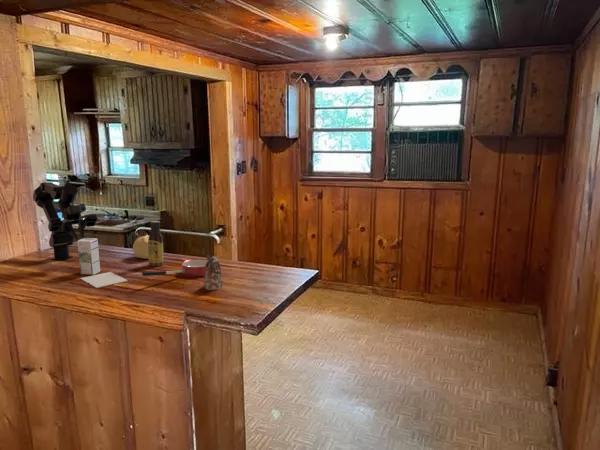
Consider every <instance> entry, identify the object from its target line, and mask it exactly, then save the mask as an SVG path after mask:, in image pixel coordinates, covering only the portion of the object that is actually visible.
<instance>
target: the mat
mask: <svg viewBox="0 0 600 450" xmlns="http://www.w3.org/2000/svg"><path fill="white" fill-rule="evenodd" d="M81 279H82V281H83V282H85V283H87V284H88V283H89V284H88V285H90V286H92V287H94V288H96V289H99V288H103V287H107V286H111V285H112V284H113V285H116V284H120V283H126V282H129V280H128V279H126V278H123V277H122V276H120V275H118V274H116V273H113V272H112V271H108V272H104V273H97V274H94V275H87V276H85V277H80V280H81Z"/></svg>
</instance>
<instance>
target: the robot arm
mask: <svg viewBox="0 0 600 450" xmlns="http://www.w3.org/2000/svg"><path fill="white" fill-rule="evenodd" d="M78 192H79V189H78V188H77V186H75V185H72V184H71V182H66V183H64V185H57V184H55V183H53V182H52V181H49V182H48V181H47V182H45V181H44V182H41V183H40V184H39V186H38V187H36V188H35V189H34V191H33V193H32V200H33V202H35V204H36V206H37V207H39V208H41V209H42V210H43V212H44V215H45V217H46V219H47V221H48V225H47V228H48V231H49V232H51V234H50V236H49V241H48V243H49V247H50V248H53V256H54V257H52V258H51V260H52V261H53V260H54V261H66V260H70V259H71V258H73V257H74V255H70V246H73V243H74V239H75V240H77V239H78V235H77V234H76V231H75V229H74V227H73V226H75V225H78V227H77V230H78V232H79V235H80V236H81V239H83V238H85V229H86V227H87V228H89V227H95V226H96V224H97V222H98V219H99V218H98V215H97V214H95V213H94V214H86V215H85V217H83V218H81V216H82V213H84V212H86V210H87V206H86V204H85V203H79V204H74V202H75V201H76V198H77V195H78ZM55 200H58V201H57V204H58V205H57V208H58V209H59V210H60V212H61V218H60V216H59V214H58V212H57V210H56V207H55V205H54V202H55Z"/></svg>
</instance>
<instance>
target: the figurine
mask: <svg viewBox="0 0 600 450" xmlns="http://www.w3.org/2000/svg"><path fill="white" fill-rule="evenodd" d="M206 259H208V261H207V262H206V268H207V270H206V272H205V276H204V277H203V278H204V280H203V287H204V289H205V290H207V291H214V290H218V291H219V290H221V289H223V287H224V280H223V276H222V269H223V268H222V267H221V265H220V262H219V261H220V260H219V259H218V257H216V256H210V255H207V256H206ZM209 264H210V266H209Z"/></svg>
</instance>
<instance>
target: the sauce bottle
mask: <svg viewBox="0 0 600 450" xmlns="http://www.w3.org/2000/svg"><path fill="white" fill-rule="evenodd" d="M160 226H161V221H160V220H151V221H150V233H149V239H148V257H149V259H148V264H149V266H150V267H160V266H163V264H164V241H163V240H164V239H163V238H164V237H163V234H162V233H161V227H160Z"/></svg>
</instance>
